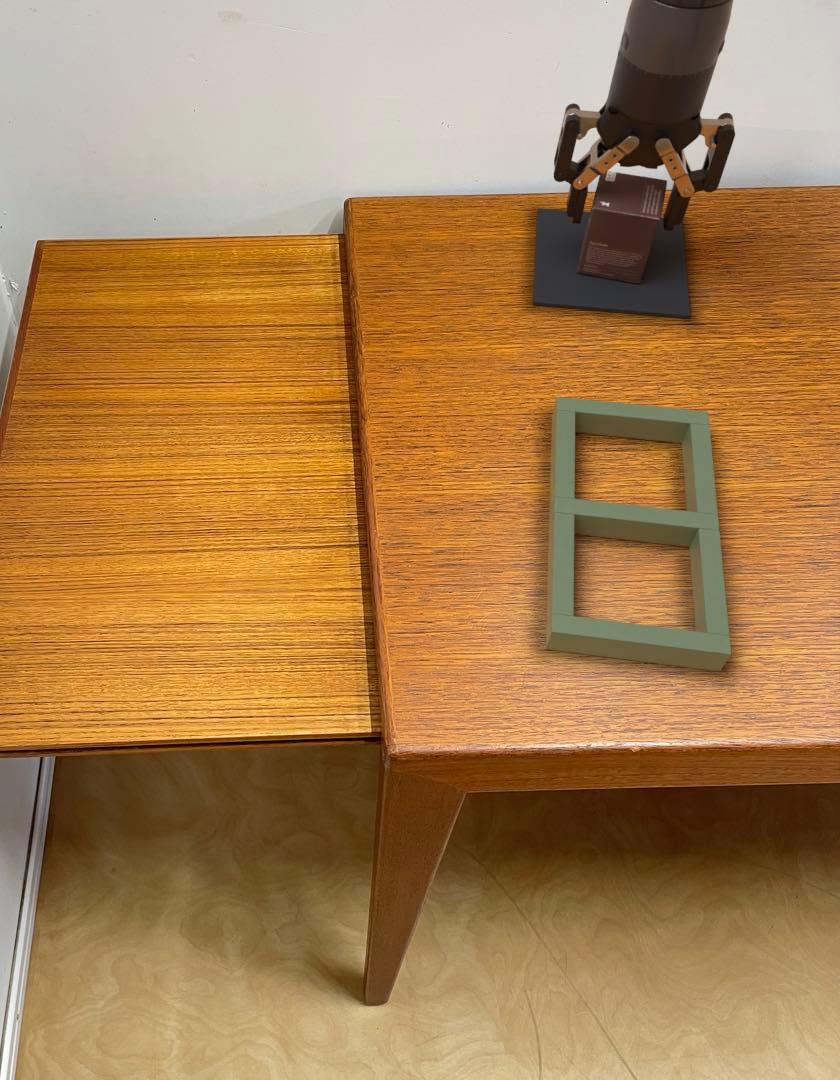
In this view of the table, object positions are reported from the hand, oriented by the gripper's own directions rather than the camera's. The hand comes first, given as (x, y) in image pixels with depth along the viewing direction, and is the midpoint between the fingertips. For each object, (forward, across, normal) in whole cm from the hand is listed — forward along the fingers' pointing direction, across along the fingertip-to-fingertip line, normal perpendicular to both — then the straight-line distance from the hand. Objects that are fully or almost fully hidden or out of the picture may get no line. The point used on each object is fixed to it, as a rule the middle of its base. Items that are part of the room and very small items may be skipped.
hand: (621, 221), depth 91 cm
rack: (+5, -1, +32) cm, 32 cm away
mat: (+5, 0, 0) cm, 5 cm away
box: (+4, 0, 0) cm, 4 cm away
